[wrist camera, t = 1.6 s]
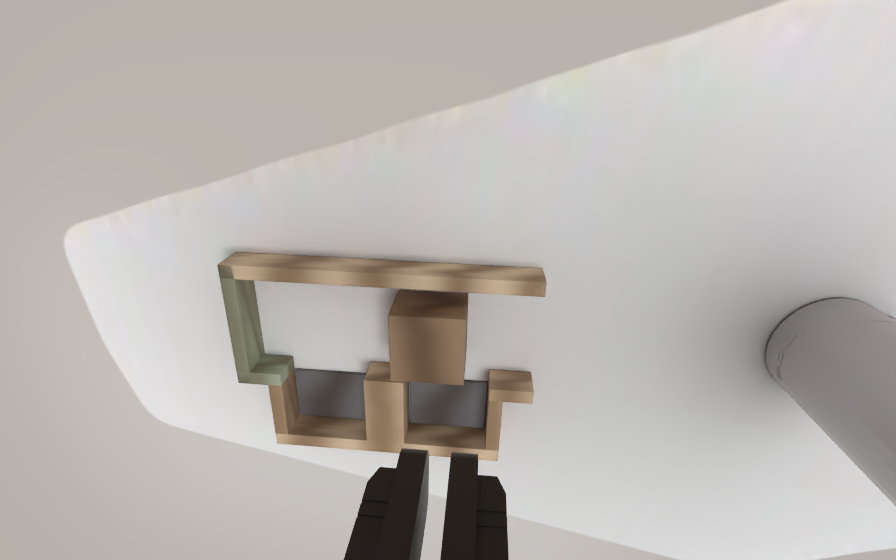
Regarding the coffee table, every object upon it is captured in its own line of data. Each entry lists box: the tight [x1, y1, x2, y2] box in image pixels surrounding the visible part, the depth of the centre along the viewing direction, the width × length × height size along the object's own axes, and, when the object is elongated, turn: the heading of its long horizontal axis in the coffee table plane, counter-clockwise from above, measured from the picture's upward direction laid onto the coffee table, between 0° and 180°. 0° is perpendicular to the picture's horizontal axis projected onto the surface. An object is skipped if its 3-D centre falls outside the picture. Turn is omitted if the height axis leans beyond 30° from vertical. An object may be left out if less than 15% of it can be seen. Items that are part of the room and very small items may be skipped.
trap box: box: [218, 252, 546, 461], centre depth 42 cm, size 26×18×3 cm
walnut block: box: [388, 290, 468, 385], centre depth 39 cm, size 6×6×5 cm
